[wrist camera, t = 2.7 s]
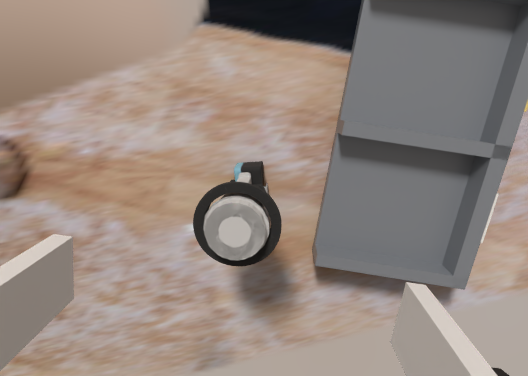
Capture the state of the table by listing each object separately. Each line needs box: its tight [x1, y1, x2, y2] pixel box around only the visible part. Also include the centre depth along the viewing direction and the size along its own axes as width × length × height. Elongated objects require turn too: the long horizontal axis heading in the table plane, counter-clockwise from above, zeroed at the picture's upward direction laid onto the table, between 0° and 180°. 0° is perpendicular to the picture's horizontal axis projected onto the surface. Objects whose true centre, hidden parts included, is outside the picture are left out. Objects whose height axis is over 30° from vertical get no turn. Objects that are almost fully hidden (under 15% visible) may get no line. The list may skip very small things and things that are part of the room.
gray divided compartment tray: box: [312, 0, 528, 290], centre depth 26 cm, size 12×22×3 cm, turn 171°
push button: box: [193, 161, 281, 266], centre depth 25 cm, size 7×5×10 cm
